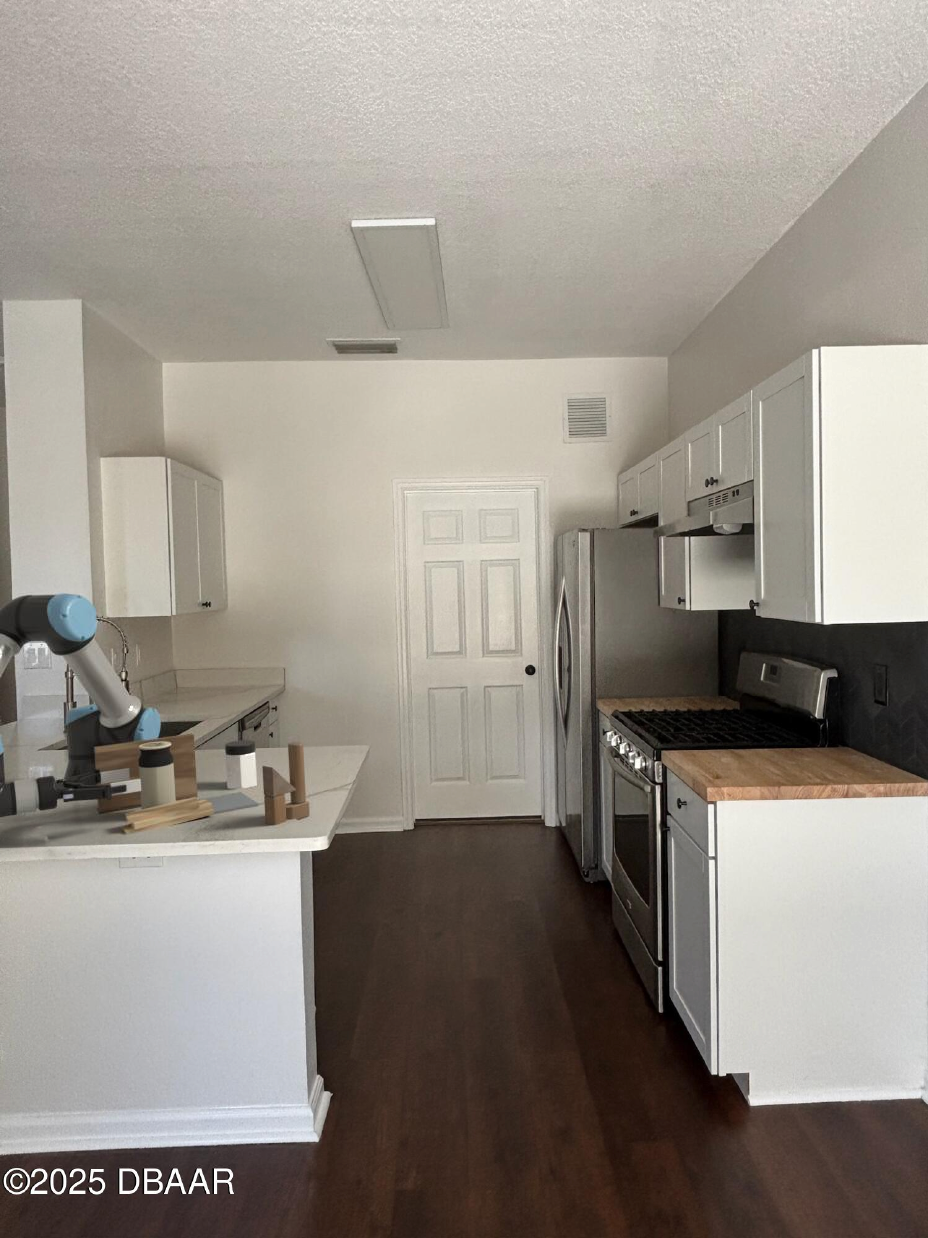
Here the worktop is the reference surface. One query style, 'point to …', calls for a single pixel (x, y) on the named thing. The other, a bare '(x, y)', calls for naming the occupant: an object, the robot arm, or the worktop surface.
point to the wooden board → (128, 758)
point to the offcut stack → (166, 815)
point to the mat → (230, 802)
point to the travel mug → (156, 774)
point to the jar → (241, 764)
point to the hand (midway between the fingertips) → (134, 779)
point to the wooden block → (286, 789)
